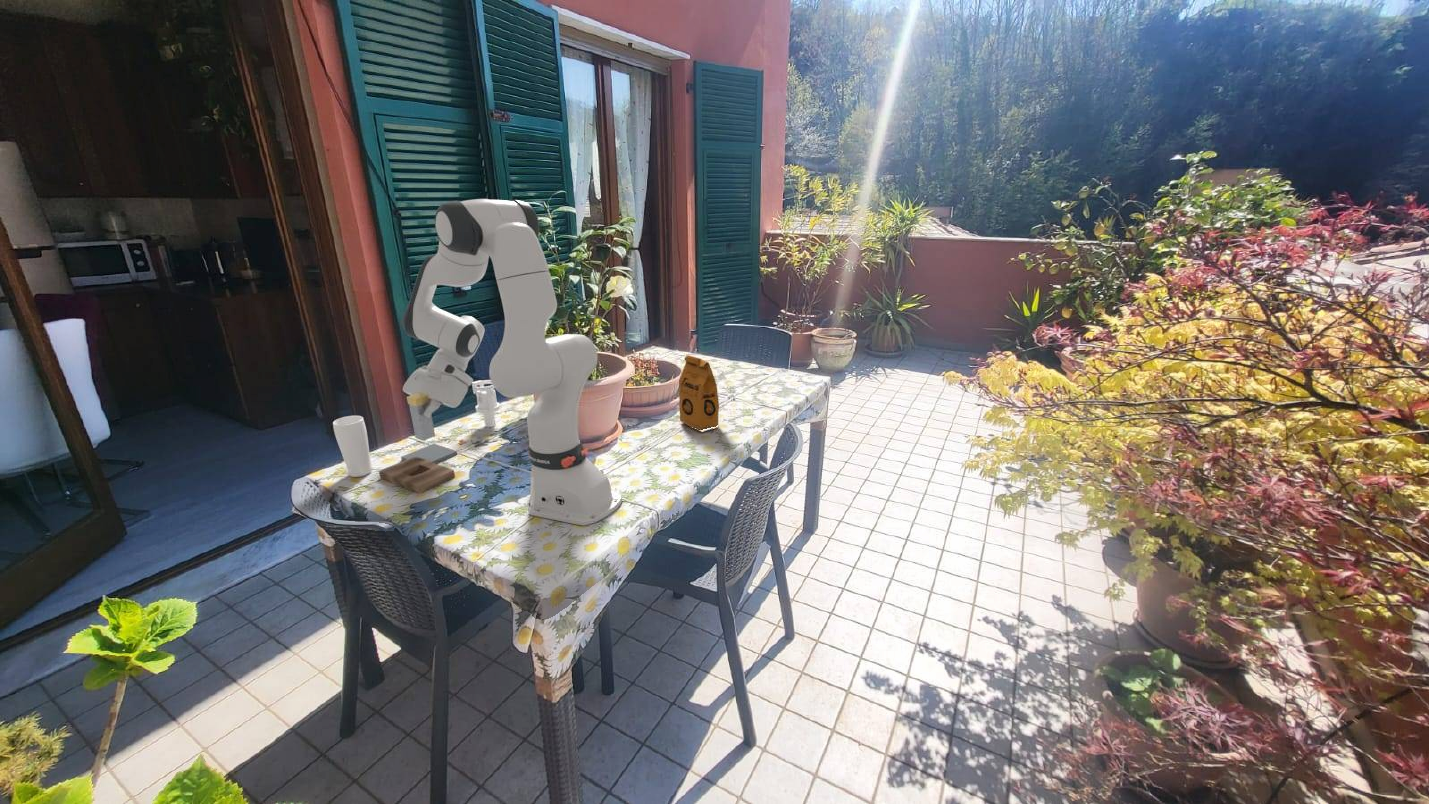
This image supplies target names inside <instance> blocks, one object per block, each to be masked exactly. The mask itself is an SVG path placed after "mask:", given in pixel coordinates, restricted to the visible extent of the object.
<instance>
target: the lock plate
mask: <svg viewBox="0 0 1429 804" xmlns="http://www.w3.org/2000/svg"><path fill="white" fill-rule="evenodd" d="M420 472H421V473H420ZM378 473H379V478H380V479H382V480H384V481H386V482H389V483H392V484H394V485H397V486H399V487H402V488H405V489H406V490H409V491H412V492H414V493H417V494H423V493H424V492H426V491H428V490H430V489H432V488H435V487H436V486H438V485H441V484H443V483H445V482H447V481H449V480H451V479H454V478H455V477H456V475H455V471H454V469H452V468H450V467H446V466H444V465H441V464H438V463H436V464H435V463H433V462H430V461H427V460H424V459H421V458H419V457H416V456H414V457H412V458H409V459H407V460H405V461H403V460H401V462H398V463H395V464H392V465H389V466H388V467H385V468H383V469H381V470H378ZM417 473H419V474H417ZM416 474H417V475H416ZM413 475H415V476H413Z"/></svg>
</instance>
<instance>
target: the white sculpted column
mask: <svg viewBox="0 0 1429 804" xmlns="http://www.w3.org/2000/svg"><path fill="white" fill-rule="evenodd" d="M485 385H488V386H485ZM471 386H472V392H473V394H474V395H476V401H477V402H476V403H477V405H475V412H476V413H479V414H483V418H484V424H485V425H484V426H485V427H486V428H493V427H495V426H496V418H495V412H498V411H499V410H500V409H501V404H500V402H497V401H498V400H497V395H496V392H497V391H496V388H495V387H494V386H493V384H492V382H491V379H487V380H486V379H485V380H480V379H479V380H475V381H473V382H472V384H471Z"/></svg>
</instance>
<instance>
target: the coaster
mask: <svg viewBox="0 0 1429 804" xmlns="http://www.w3.org/2000/svg"><path fill="white" fill-rule="evenodd" d="M457 451H458V450H455V449H452V448H449V447H445V446H442V445H439V444H436V443H432V444H429V445H426V446H425V447H422V448H419V449H417V450H415V451H412V452H409V453H407V454H404V455H402V456H400V457H401V458H400V459H401V461H405V460H407V459H409V458H412V457H414V456H416V457H419V458H421V459H424V460H427V461H430V462H433V463H435V464H438V462H439V463H441V462H443V461H446V460H447V459H449V458H452V457H454V456H456V455H458V452H457ZM442 460H443V461H442ZM440 461H441V462H440Z"/></svg>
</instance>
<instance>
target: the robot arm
mask: <svg viewBox="0 0 1429 804" xmlns="http://www.w3.org/2000/svg"><path fill="white" fill-rule="evenodd" d="M434 226H435V231H436V235H437V237H438V239H439V242H438V248H437V252H436V253H435V254H434V253H433V254H431V255H429V256H428V257H426V258H425V260H424V261H423V262H422V264H421V266H420V268H419V270H418V273H417V277H416V279H415V283H414V285H413V289H412V292H411V295H410V299H409V302H408V304H407V306H406V309H405V311H404V313H403V315H402V319H401V326H402V328H403V330H404V332H405V334H406V335H407V336H408V337H410V338H413V339H416V340H419V341H423V342H425V343H427V344H430V345H432V346H434V347H436V348H438V349H437V350H436V352H435V353H434V354H433V356H432V358H431V359H430V361H429V363H428V364H427V365H422V366H420V367H418V368H417V369H416V370H414V371H412V372H413V373H411V375H410V376H409V377H408V378H407V380H406V381H405V383H404V385H403V386H402V391H403V392H404V393H406V394H407V395H408V396H410V395H414V394H417V393H423V394H427V395H429V396H428V398H429V400H430V402H429V404H430V405H429V406H428V407H427V408H426V409H423V412H422V413H421V415H423V416H425V417H428V418H429V417H430V416H431V415H433V413H434V412H435V411H437V410H438V409H440V406H441V405H443V406H446V407H449V408H452V409H455V408H457V407H458V406H460V404H461V403H462V401H463V400H464V398H465V396H466V394H467V393H468V389H469V387H470V386H472V382H474V379H473V378H472V377H471V376H470V375H468V374H467V373H466V372H465V371H466V370H467V368H468V363H469V361H470V360H471V359H472V358H473V357H474V356H475V354H476V353H477V351H478V349H479V347H480V345H481V342H482V340H483V337H484V334H485V331H486V330H485V327H484V325H483V323H481V322H480V321H479V320H478V319H476V318H475V317H473V316H470V315H461V316H458V315H456V314H453V313H451V312H448V311H446V310H443V309H441V308H439V307H438V306H436V304H434V303H433V299H434V295H435V292H436V289H437V286H450V287H454V288H457V287H458V288H461V287H462V288H463V287H469V286H472V285H474V284H476V283H478V282H480V281H481V280H482V279H483V277H484V276H485V274H486V271H487V268H488V265H489V258H490V259H491V263H492V267H493V271H494V272H493V273H494V276H495V279H496V284H497V287H498V292H499V294H500V295H499V296H500V299H501V304H502V309H503V314H504V330H503V337H502V340H501V343H500V346H499V348H498V350H497V351H496V353H495V354H494V355H493V357H492V358H491V361H490V364H489V366H488V367H489V368H488V369H489V371H488V373H489V380H491V382H492V384H491V385H493V386H494V387H495V388H494V389H495V391H496V392H498V393H500V394H501V395H502V396H504V397H506V398H511V399H512V398H521V397H530V396H533V395H536V394H539V396H538V398H537V399H536V401H535V402H534V403H533V405H532V406H531V407H530V408H529V410H528V411H527V412H528V413H527V415H526V424H527V425H526V426H527V430H528V431H527V433H528V440H529V444H528V448H527V449H528V454H527V455H528V459H529V462H530V464H531V470H530V471H531V472H530V495H529V500H528V502H529V508H528V514H529V515H530V516H535V517H539V518H544V519H549V520H554V521H558V522H559V521H560V522H563V523H568V524H573V525H578V526H588V525H591V524H595V523H597V522H599V521H600V520H603V519H604V518H606V517H607V516H610V514H612V513H613V512H614V511H616V510H617V509H618V508H619V507H620V506H621V503H622V502H623V496H622V495H621V494H619V493H618V492H616V491H613V490H612V486H611V483H610V480H609V478H608V476H607V475H605V474H604V473H605V472H604V471H603V469H602V468H598V467H597V466H596V465H595V464H594V463H593V462H592V461H590V459H589V458H588V456H587V454H588V453H590V451H589V447H587V448H585V447H583V446H584V445H583V444H582V442H581V440H580V437H579V436H580V435H579V426H578V425H579V424H578V419H579V417H578V413H579V412H578V411H579V403H580V399H581V396H582V392H583V390H584V387H585V385H586V382H587V381H588V379H589V377H590V376H591V374H592V373H593V372H594V371H595V369H596V367H597V364H598V352H597V349H596V346H595V344H594V343H593V341H592V339H590V338H589V337H587V335H585V334H579V333H576V334H574V333H572V334H571V333H565V334H559V335H554V336H551V337H546V329H547V328H546V327H547V323H548V321H549V320H550V319H551V318H552V317H553V316H554V315H555V313H556V312H557V308H558V301H557V298H556V293H555V289H554V285H553V280H552V277H551V273H550V270H549V267H548V266H549V265H548V262H547V259H546V256H545V253H544V251H543V248H542V246H541V243H540V241H539V239H538V237H539V233H540V221H539V217H538V215H537V213H536V210H534V208H533V206H532V205H530V204H529V203H528V202H525V201H522V200H518V199H509V200H507V199H506V200H504V199H488V198H476V199H467V200H463V201H459V200H452V201H448V202H445V203H443V204H441V205H440V206H439V207H438V208H437V210H436V212H435V215H434ZM584 448H585V449H584Z"/></svg>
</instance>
